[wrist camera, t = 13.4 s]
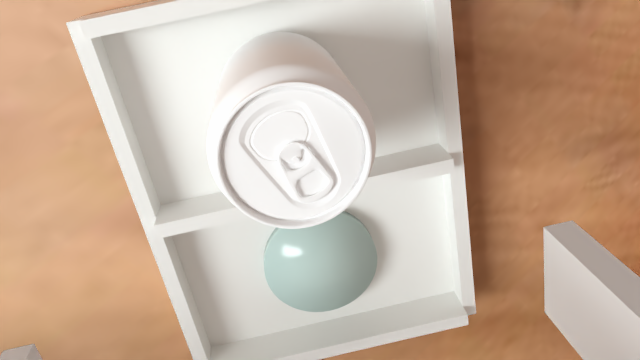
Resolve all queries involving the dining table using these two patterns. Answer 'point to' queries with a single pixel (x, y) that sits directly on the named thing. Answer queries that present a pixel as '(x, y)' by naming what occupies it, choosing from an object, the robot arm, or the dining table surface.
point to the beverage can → (289, 133)
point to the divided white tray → (251, 236)
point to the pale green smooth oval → (320, 263)
